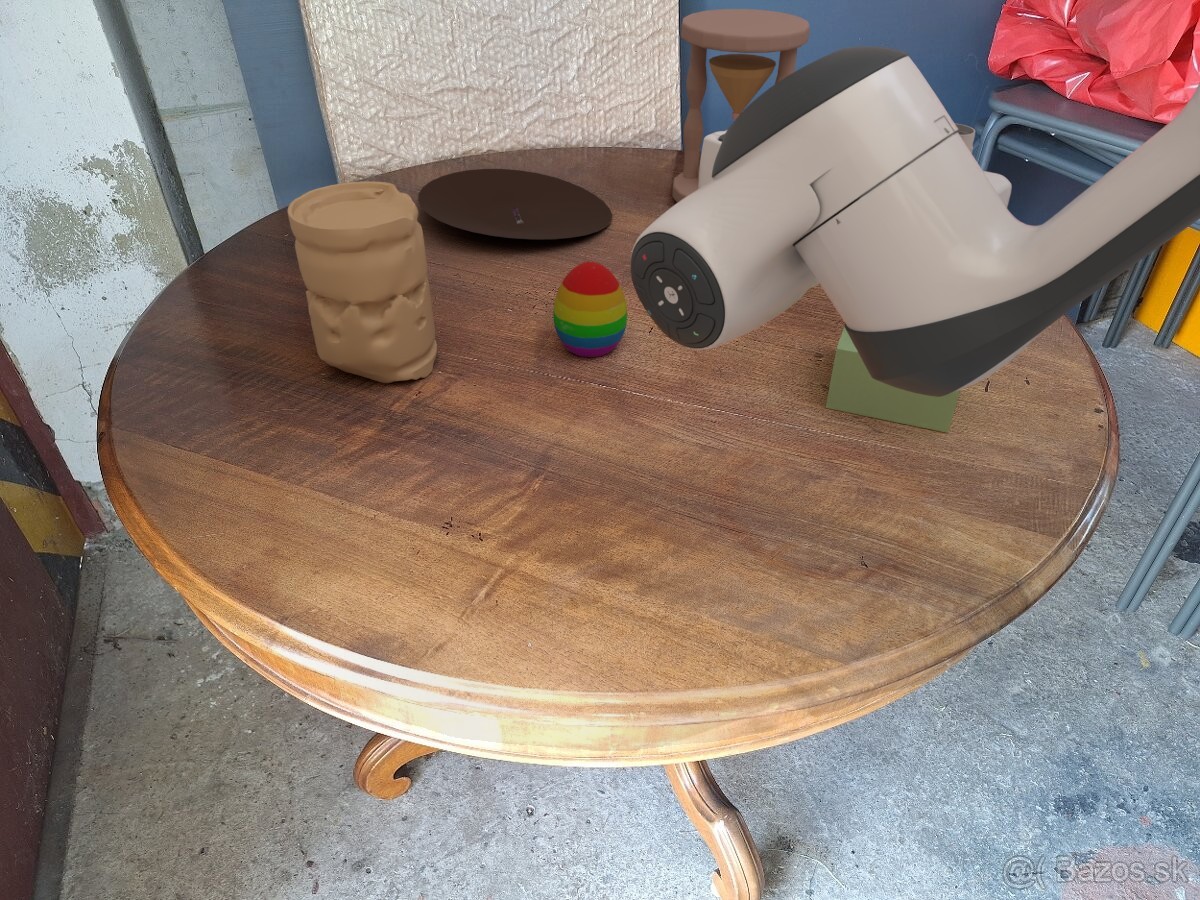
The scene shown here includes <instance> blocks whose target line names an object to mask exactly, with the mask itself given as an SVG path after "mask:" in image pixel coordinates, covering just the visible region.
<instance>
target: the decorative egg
mask: <svg viewBox="0 0 1200 900" xmlns="http://www.w3.org/2000/svg"><path fill="white" fill-rule="evenodd" d="M623 290H624V289H623V287H622V286H621V284H620V282H619V280H618V279H617V278H616V276H615V275H614V274H613V273H612V271H610V270H609V268H607V267H606V266H605V265H603V264H601V263H599V262H596V261H584V262H581V263H579V264H578V265H576V266H574V267H573V268H572V269H571V270H570V271H569V272H568V273H567V274H566V275H565V277H564V278H563V280H562V281H561V283H560V285H559V287H558V289H557V292H556V295H555V298H554V303H553V311H552V312H553V314H552V317H553V325H554V329H555V332H556V335H557V337H558V339H559V341H560V342H561V344H562V345H563V346H564V347H565V349H566V350H568V351H569V352H570V353H572V354H574V355H577V356H579V357H585V358H596V357H601V356H604V355H608V354H609V353H610V352H612V351H613V350H614V349H616V348H617V346H618V345H619V343H620V342H621V340H622V339H623V336H624V334H625V332H626V327H627V323H628V306H627V301H626V297H625V293H624V291H623Z"/></svg>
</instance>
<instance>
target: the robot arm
mask: <svg viewBox="0 0 1200 900" xmlns="http://www.w3.org/2000/svg"><path fill="white" fill-rule="evenodd" d="M957 130H958V128H957V126H956V125H955V122H954V121H953V119H952V118H951V116H950V114H949V113H948V111H947V110H946V108H945V106H944V104H943V103H942V101H941V100H940V99H939V97H938V96H937V94H936V92H934V90H933V89H932V86H930V84H929V82H928V81H927V79H926V78H925V77H924V75H923V74H922V72H921V70H920V69H919V68H918V67H917V65H916V64H915V63H914V61H913V60H912V59H911V56H910V55H909V53H907V52H905V51H903V50H899V49H895V48H890V47H885V46H849V47H843V48H840V49H838V50H835V51H833V52H831V53H829V54H827V55H824V56H822V57H821V58H818V59H816V60H814V61H812V62H810V63H808V64H806V65H804V66H803V67H801V68H799V69H797V70H795V72H793V73H792V74H790V75H788V76H787V77H785V78H784V79H782V80H781V81H779V82H778V83H776V84H775V83H774V84H773V85H772V86H770V87H769V88H768V89H767V90H765V91H764V92H762V93H761V94H760V95H759V96H758V97H756V98H755V99H753V101H752V102H751V103H750V104H748V105H747V106H746V107H745V109H744V110H743V111H742V113H741V114H740V115H739V116H738V117H737V118H736V120H734V121H733V122H732V123H731V125H730V126H729V127H728V129H725V130H724V131H723V130H719V131H715V132H712V133H709V134H708V135H706V136H704V138H703V140H702V141H703V142H702V147H701V153H700V158H699V167H700V168H699V180H698V190H696V191H695V192H693V193H691V194H690V195H688V196H687V197H685V198H684V199H682V200H681V201H679V202H678V203H677V202H676V203H675V204H674V205H672V206H671V207H670V208H668V209H667V210H666V211H665V212H663V213H662V214H661V215H660V216H658V217H657V218H656V219H655V220H654V221H653V222H652V223H650V225H648V226H647V227H646V228H645V229H644V230H643V231H642V232H641V233H640V234H639V236H638V237H637V239H635V241H634V244H633V247H632V250H631V254H630V260H629V261H630V267H629V268H630V276H631V281H632V285H633V288H634V290H635V293H636V295H637V297H638V300H639V301H640V303H641V305H642V306H643V308H644V310H645V311H646V312H647V314H648V316H649V317H650V319H651V320H652V322H653V323H654V324H655V325H656V326H657V328H658V329H659V330H660V331H661V332H662V333H663V334H664V335H665V336H666V337H668V338H669V339H670V340H671V341H673V342H675V343H676V344H678V345H680V346H682V347H685V348H688V349H690V350H696V351H706V350H711V349H714V348H718V347H720V346H723V345H725V344H728V343H730V342H733V341H735V340H737V339H739V338H741V337H744V336H745V335H747V334H749V333H751V332H754V331H756V330H757V329H759V328H761V327H762V326H764V325H765V324H767V323H769V322H770V321H772V320H774V319H775V318H777V317H779V316H780V315H781V314H782V313H784V312H785V311H787V310H788V309H789V308H791V307H792V306H794V305H795V304H796V303H797V302H799V300H801V299H802V298H803V297H804V296H805V295H806V293H807V292H808V290H809V289H811V288H813V287H817V286H818V285H819V286H820V288H821V290H823V292H824V293H825V295H826V296H827V298H828V300H829V301H830V302H831V304H832V305H833V307H834V308H835V310H836V311H837V313H838V314H839V316H840V318H841V319H842V320H843V322H844V324H843V327H844V326H845V329H846V331H847V333H848V334H849V336H850V338H851V340H852V342H853V344H854V346H855V347H856V349H857V351H858V353H859V355H860V357H861V359H862V360H863V362H864V364H865V366H866V368H867V370H868V372H869V373H870V375H871V377H872V378H873V379H875V380H877V381H880V382H882V383H885V384H887V385H890V386H893V387H896V388H899V389H902V390H905V391H909V392H913V393H917V394H922V395H928V396H935V397H941V396H945V395H947V394H950V393H952V392H955V391H959V390H961V391H962V390H964V389H967V388H970V387H973V386H974V385H976V384H978V383H980V382H983V381H984V380H986V379H987V378H989V377H990V376H992V375H993V374H995V373H997V372H998V371H999V370H1001V369H1002V368H1004V367H1005V366H1006V365H1008V364H1009V363H1010V362H1012V360H1014V359H1015V358H1016V357H1018V356H1019V355H1020V354H1021V353H1022V352H1023V351H1024V350H1025V349H1026V348H1027V347H1028V346H1030V344H1031V343H1032V342H1034V341H1035V339H1037V338H1038V337H1039V336H1040V335H1041V333H1043V332H1044V330H1046V329H1047V328H1049V327H1050V326H1051V325H1052V324H1054V323H1055V322H1056V321H1058V320H1059V319H1060V318H1062V317H1063V316H1064V315H1066V314H1067V313H1068V312H1070V311H1071V310H1072V309H1074V308H1076V306H1078V305H1079V304H1081V303H1082V302H1084V301H1085V300H1087V299H1088V298H1089V297H1090V296H1092V295H1093V294H1095V293H1097V292H1098V291H1099V290H1101V289H1102V288H1103V287H1104V286H1106V285H1108V284H1109V283H1111V282H1112V281H1113V280H1115V279H1116V278H1118V277H1119V276H1120V275H1122V274H1123V273H1125V272H1126V271H1128V270H1129V269H1130V268H1132V267H1134V266H1135V265H1136V264H1137V263H1139V262H1140V261H1142V260H1143V259H1145V258H1146V257H1147V256H1149V255H1151V254H1152V253H1154V251H1156V250H1157V249H1159V248H1160V247H1162V246H1163V245H1165V244H1166V243H1167V242H1169V241H1170V240H1172V239H1174V238H1175V237H1176V236H1178V235H1179V234H1181V233H1182V232H1183V231H1185V230H1186V229H1187V228H1189V227H1190V226H1192V225H1193V224H1195V223H1196V222H1197V221H1199V220H1200V82H1199V83H1198V85H1197V87H1196V89H1195V90H1194V93H1192V95H1191V97H1190V99H1189V100H1188V101H1187V102H1186V104H1185V106H1183V108H1181V110H1180V111H1179V112H1178V113H1177V115H1176V116H1175V117H1174V118H1173V119H1172V120H1171V121H1169V122H1168V123H1167V124H1166V125H1164V127H1162V128H1161V129H1160V130H1159V131H1157V132H1156V133H1154V134H1153V135H1152V136H1151V137H1150V138H1149V139H1147V140H1146V141H1145V142H1143V144H1141V145H1140V146H1139V147H1138V148H1136V149H1135V150H1134V151H1132V152H1131V153H1130V154H1128V155H1127V156H1126V157H1124V159H1122V160H1121V161H1120V162H1119V163H1117V164H1116V165H1115V166H1114V167H1112V168H1111V169H1110V170H1109V171H1107V172H1106V173H1104V175H1102V176H1101V177H1100V178H1099V179H1097V180H1096V181H1095V182H1094V183H1093V184H1091V185H1090V186H1089V187H1088V188H1087V189H1085V190H1084V191H1082V192H1081V193H1080V194H1078V195H1077V197H1075V198H1074V199H1073V200H1071V201H1070V202H1069V203H1068V204H1066V205H1065V206H1064V207H1063V208H1062V209H1060V210H1059V211H1058V212H1056V213H1055V214H1054V215H1053V216H1052V217H1050V218H1049V219H1048V220H1046V221H1045V222H1044V223H1042V224H1037V225H1031V224H1027V223H1024V222H1022V221H1020V220H1019V219H1018V218H1016V216H1014V215H1013V214H1012V213H1011V211H1010V210H1009V209H1008V206H1009V202H1010V198H1011V194H1012V187H1013V186H1012V183H1011V182H1010V180H1009V179H1008V178H1007V177H1005V176H1004V175H1002V174H1000V173H997V172H991V171H987V170H983V169H982V167H981V166H980V164H979V163H978V161H977V160H976V158H975V156H974V155H973V153H972V154H971V152H970V151H969V149H968V147H967V146H966V144H965V143H964V141H963V140H962V138H961V137H960V135H959V134H958V133H956V134H954V135H953V136H951V135H952V134H953V133H955V132H956V131H957ZM949 136H951V137H950V138H948V137H949ZM947 138H948V139H947ZM945 139H947V140H945ZM944 140H945V141H944ZM943 141H944V142H943ZM941 142H942V143H941ZM940 143H941V144H940ZM938 144H939V145H938ZM937 145H938V146H937ZM934 147H935V148H934ZM931 149H932V150H931Z"/></svg>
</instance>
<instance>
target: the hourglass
mask: <svg viewBox="0 0 1200 900" xmlns="http://www.w3.org/2000/svg"><path fill="white" fill-rule="evenodd" d="M680 31H681V32H680V36H681V39H682V40H683V41H685V42H686V43H687V44H689V45H690V57H689V67H688V72H687V76H686V87H685V88H686V89H685V90H686V95H687V99H688V105H689V109H688V113H687V116H686V118H685V122H684V125H683V145H684V157H683V171H681V172H680V173H679V174H678V175H677V176H675V177H674V178H673V184H672V198H673V200H674V201H675V202H676V204H677V203H678V202H679V201H681V200H682V199H684V198H685V197H687V196H688V195H690V194H691V193H693V192H695V191H696V190H698V180H699V168H700V154H701V153H700V152H701V151H700V150H701V148H702V147H701V146H702V143H703V142H702V141H703V139H704V138H703V137H704V122H703V117H702V111H701V107H702V104H703V101H704V97H705V94H706V91H707V82H708V75H707V51H708V50H714V51H720V52H727V54H719V55H715V56H712V57H711V58H709V59H708V64H709V68H710V71H711V73H712V75H713V78H714V79H715V81H716V83H717V85H718V87H719V88H720V91H721V92H722V94H723V95H724V97H725V99H726V101H727V102H728V104H729V107H730V108H731V110H732V112H731V119H732V120H734V121H735V120H736V118H737V117H738V116H739V115H740V114H741V113H742V112H743V111H744V110H745V109H746V108H747V107H748V106H749V105H750V104H749V103H750V102H751V101H752V100H754V98H755V96H756V95H757V94H758V93H759V91H760V90H761V89H762V87H763V86H764V85H765V83H766V82H767V81H768V80H769V78H770V77H771V75H772V74H773V73H774V70H775V68H776V65H777V62H776V61H775V60H774V59H773V58H770V57H766V56H763V55H757V54H765V53H766V54H767V53H777V52H779V59H778V67H777V75H776V78H775V81H774V85H775V84H776V83H778V82H779V81H781V80H782V79H784V78H785V77H787V76H788V75H790V74H792V73H793V72H795V71H796V65H797V64H796V63H797V56H798V48H801V47H803V46H804V45H805V44H807V43H808V42H809V39H810V31H811V27H810V24H809V21H808V20H806V19H805V18H802V17H800V16H798V15H794V14H789V13H785V12H781V11H774V10H768V9H767V10H766V9H753V8H721V9H709V10H702V11H698V12H694V13H690V14H688V15H686V16H684V17H683V18H682V22H681V30H680Z"/></svg>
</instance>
